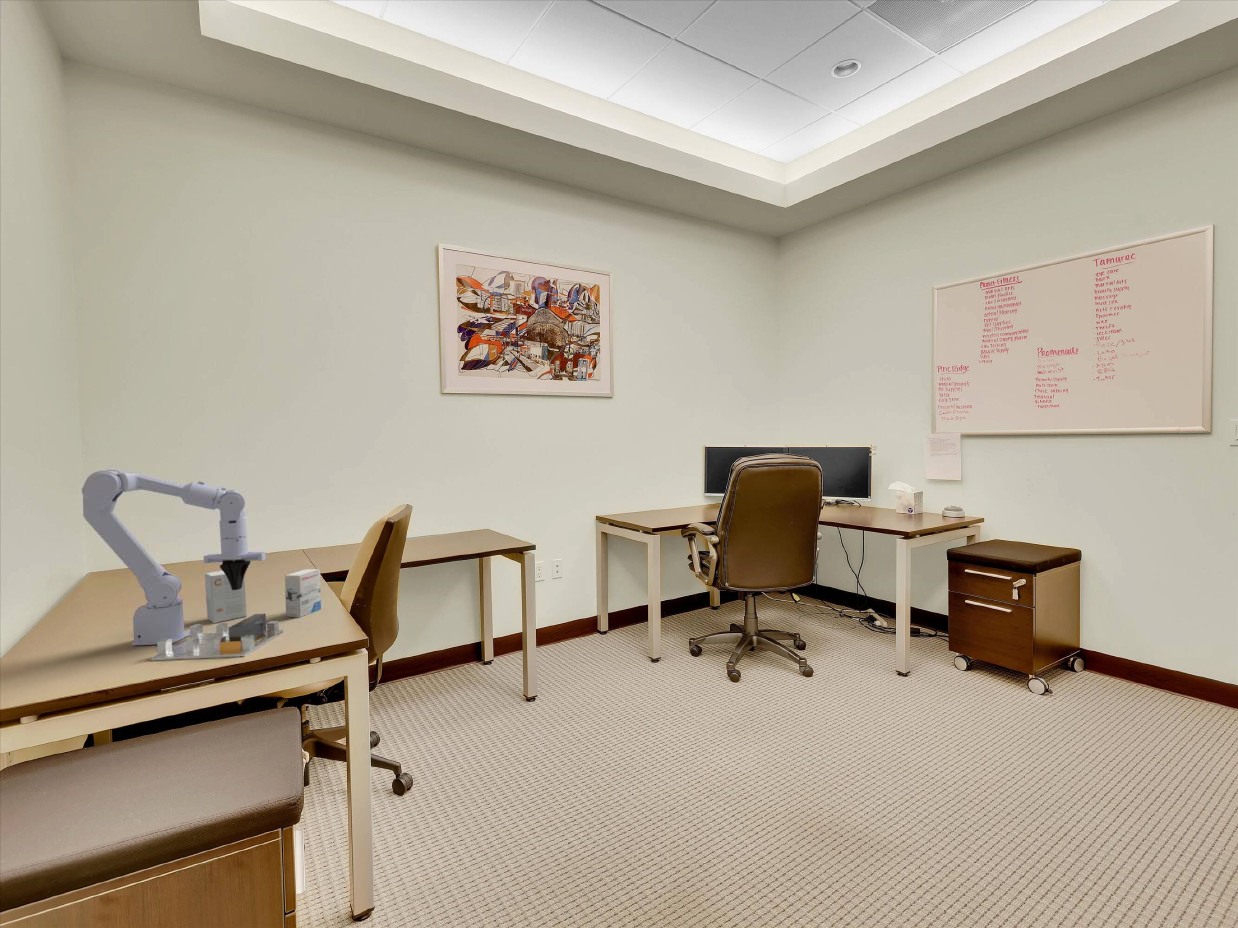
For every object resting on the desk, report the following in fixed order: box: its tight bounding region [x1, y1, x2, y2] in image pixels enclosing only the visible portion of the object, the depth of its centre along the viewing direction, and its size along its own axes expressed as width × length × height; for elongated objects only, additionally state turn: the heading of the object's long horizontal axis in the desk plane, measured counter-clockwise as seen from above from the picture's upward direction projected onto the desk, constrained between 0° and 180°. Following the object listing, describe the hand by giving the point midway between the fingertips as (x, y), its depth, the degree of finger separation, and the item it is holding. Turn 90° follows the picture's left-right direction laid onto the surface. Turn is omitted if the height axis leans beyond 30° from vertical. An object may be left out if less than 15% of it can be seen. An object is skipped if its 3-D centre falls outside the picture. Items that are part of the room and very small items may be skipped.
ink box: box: [284, 568, 322, 618], centre depth 167 cm, size 9×5×12 cm, turn 168°
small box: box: [204, 570, 248, 624], centre depth 163 cm, size 8×6×13 cm
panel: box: [228, 613, 267, 641], centre depth 141 cm, size 2×11×5 cm, turn 3°
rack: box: [151, 620, 284, 662], centre depth 140 cm, size 20×17×4 cm
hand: (236, 589), depth 153 cm, fingers closed
